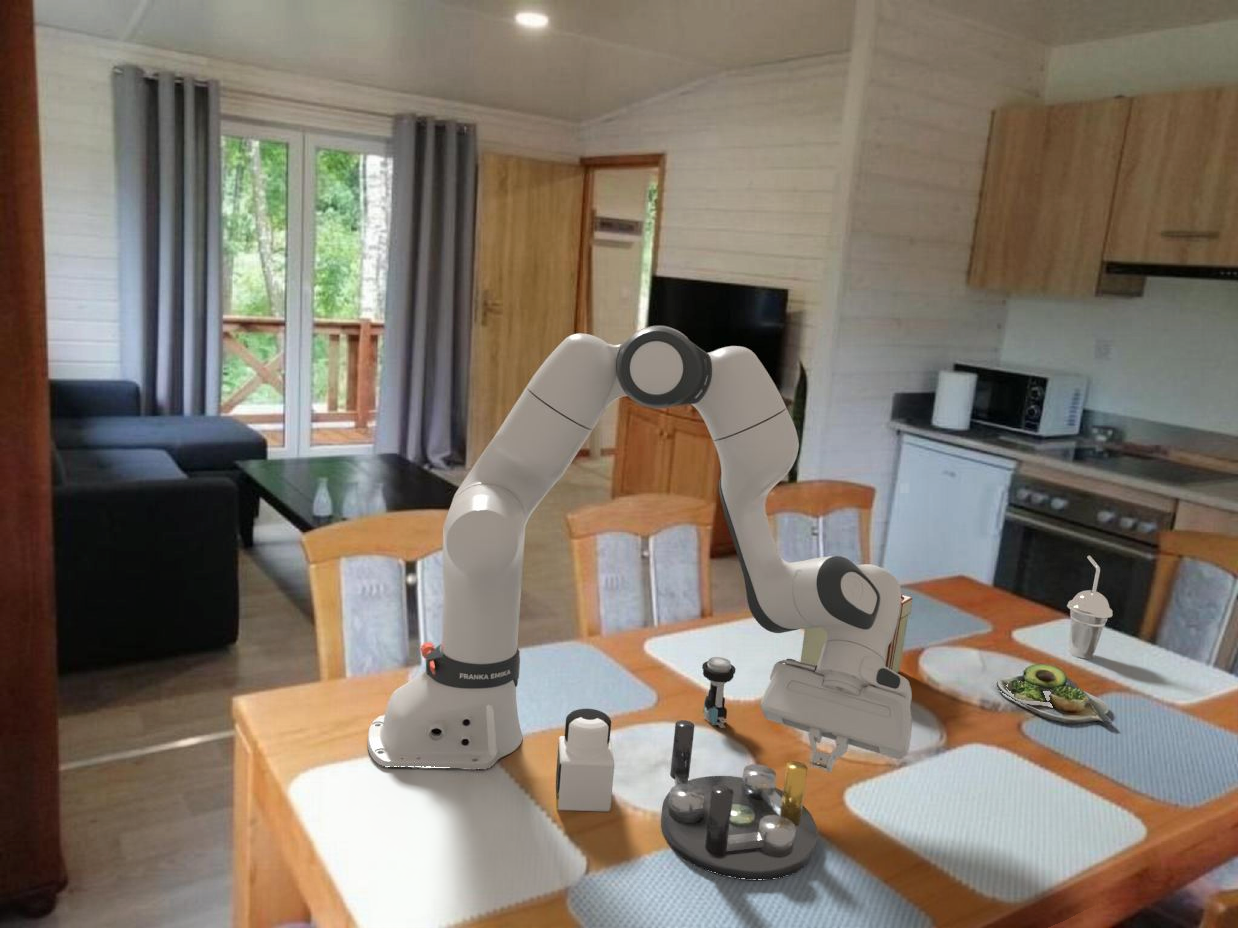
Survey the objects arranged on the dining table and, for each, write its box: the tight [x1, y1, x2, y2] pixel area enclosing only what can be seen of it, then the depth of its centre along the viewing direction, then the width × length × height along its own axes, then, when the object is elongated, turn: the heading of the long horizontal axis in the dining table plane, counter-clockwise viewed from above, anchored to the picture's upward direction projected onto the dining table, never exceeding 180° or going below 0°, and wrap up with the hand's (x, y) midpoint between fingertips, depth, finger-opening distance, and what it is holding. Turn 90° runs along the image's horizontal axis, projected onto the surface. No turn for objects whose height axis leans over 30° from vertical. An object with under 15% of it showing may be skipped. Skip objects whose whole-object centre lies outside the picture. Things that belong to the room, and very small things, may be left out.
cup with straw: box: [1066, 555, 1114, 660], centre depth 192 cm, size 8×9×20 cm
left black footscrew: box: [668, 719, 704, 823], centre depth 123 cm, size 12×4×8 cm, turn 2°
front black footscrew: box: [705, 785, 796, 857], centre depth 113 cm, size 12×4×8 cm, turn 107°
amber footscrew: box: [741, 760, 808, 826], centre depth 123 cm, size 12×4×8 cm, turn 22°
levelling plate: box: [660, 775, 818, 881], centre depth 121 cm, size 20×20×3 cm
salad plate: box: [996, 663, 1113, 724], centre depth 168 cm, size 19×18×5 cm
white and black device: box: [555, 708, 615, 813], centre depth 125 cm, size 7×7×12 cm
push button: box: [701, 656, 736, 729], centre depth 150 cm, size 7×5×10 cm
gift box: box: [799, 593, 913, 674], centre depth 175 cm, size 17×18×17 cm
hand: (819, 767), depth 124 cm, fingers closed
